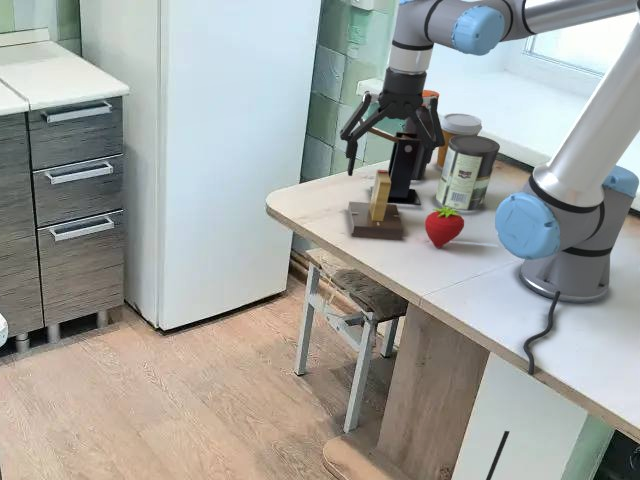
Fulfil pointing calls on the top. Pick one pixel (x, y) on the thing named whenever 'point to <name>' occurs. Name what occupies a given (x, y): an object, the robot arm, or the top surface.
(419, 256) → the top surface
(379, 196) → the thumb turn
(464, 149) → the coffee can
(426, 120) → the bottle
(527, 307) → the top surface
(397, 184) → the bracket
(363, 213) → the plate
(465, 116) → the disposable coffee cup
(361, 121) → the door handle
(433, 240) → the strawberry
